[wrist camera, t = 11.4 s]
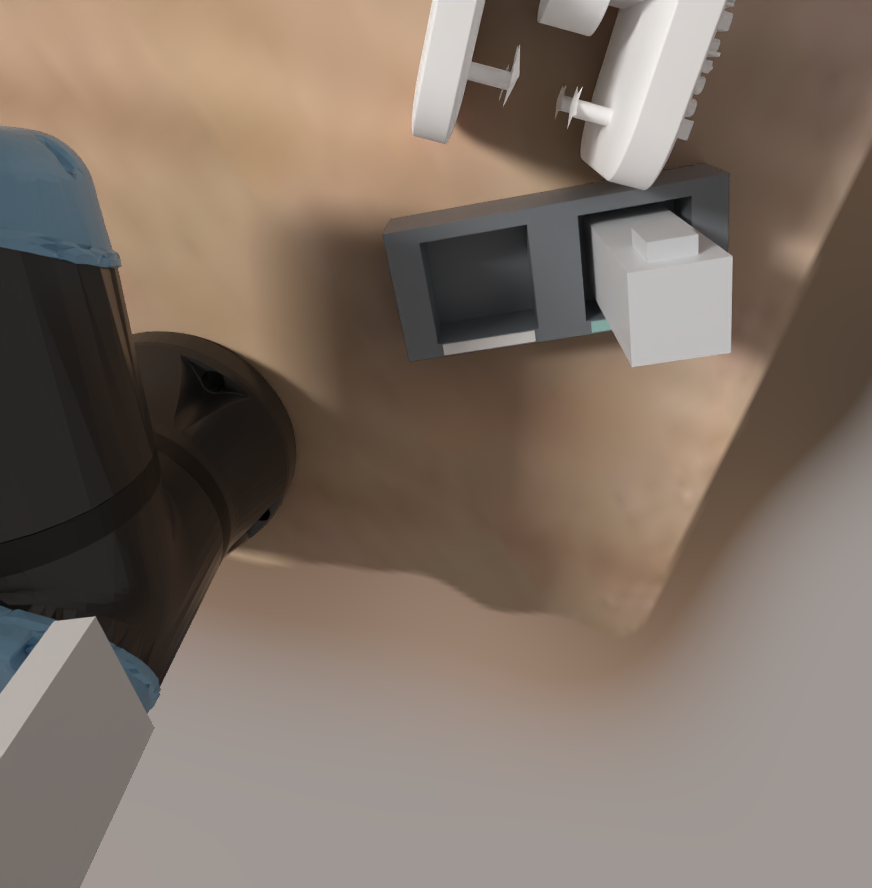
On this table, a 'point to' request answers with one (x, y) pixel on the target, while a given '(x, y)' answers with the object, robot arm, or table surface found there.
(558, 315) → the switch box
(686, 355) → the plug
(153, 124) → the table surface
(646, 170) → the cable organizer
